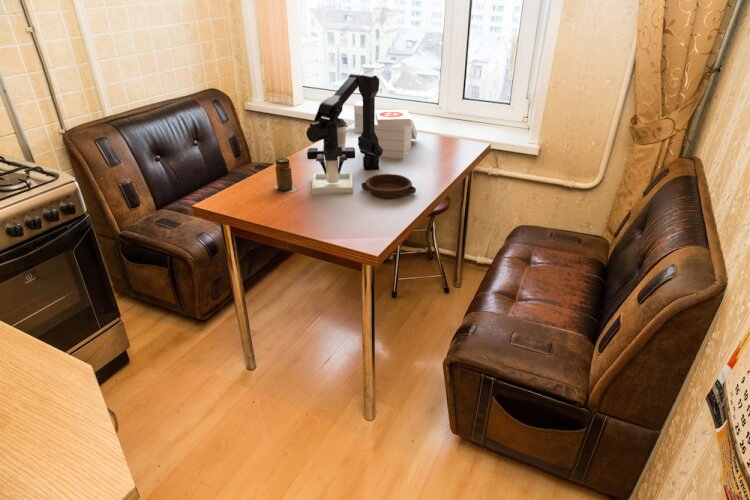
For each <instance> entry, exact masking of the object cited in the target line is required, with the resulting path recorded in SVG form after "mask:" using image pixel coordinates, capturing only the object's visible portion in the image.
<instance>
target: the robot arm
mask: <svg viewBox="0 0 750 500" xmlns="http://www.w3.org/2000/svg"><path fill="white" fill-rule="evenodd" d="M357 88H358V92H359V94H360V95H361V97H362V101H363V133H360V134H361V135H359V136H358V137H357V140H358V141H357V146H358V149H359V151H360V154H363V156H362V167H363V168H364V170H367V171H368V170H370V171H373V170H374V171H377V170H380V165H379V164H380V159H379V158H380V157H381V155H382V153H383V149H382V148H381V147H380V146H379V143H378V137H377V136H376V134H375V131H374V127H375V123H376V121H375V120H376V110H375V109H376V108H375V104H376V103H375V102H376V101H375V99H376V96H377V94H378V92H379V90H380V89H379V88H380V78H379V77H378V76H377V75H375V74H374V75H373V74H367V73H362V74H360V73H354V72H352V73H350V74H349V75H348V77H347V79H346V80H345V81H344V82H343V84H342V85H341V86H340V87H339V88H338V89H337V91H336V92H335V93H334V94H333V95H332V96H330V97H327V98H326V99H324V100H323V101H321V103H320V104H319V106H318V108H317V109H318V110H317V111H316V114H315V117H314V120H313V121H314V122H311V123H310V124H309V127H308V128H307V129H306V132H305V133H306V137H307V139H308V140H309V141H310V142H311V143H316V142H319V141H323V147H322V149H323V150H318V147H309V148H308V149H307V153H306V156H307V160H315V161H316V162H319V164H320V166H321V167H322V170H323V173H325V174H326V162H325V160H326V161H329V160H337V157H338V173H339V174H340V173H341V171H342V166H343V164H344V162H345V161H348V159H349V160H351V159H356V148H355V147H353V146H352V147H350V146H349V147H346V146H345V150H342V147H338V125H337V123H339V122H341V120H340V119H341V118H339V117H340V115H341V113H342V111H343V107H344V105H345V103H346V102H347V101H348V100H349V98H351V96H352V94H353V93H354V92H356V90H357Z"/></svg>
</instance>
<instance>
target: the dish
mask: <svg viewBox="0 0 750 500" xmlns="http://www.w3.org/2000/svg"><path fill="white" fill-rule="evenodd" d="M412 185H413V183H412V181H411V180H410V179H409V178H408V177H406V176H403V175H400V174H396V173H395V174H394V173H382V174H374V175H372V176H369V177H368V178H367V179H366V180H365V181H364V182H362V183H361V188H362V190H365V191H367V192H369V193H370V195H372V196H373V197H375V198H378V199H384V200H393V199H398V198H401V197H403V196H406V195H409V194H410V195H411V194H415V193H416V191H417V188H416V187H414V186H412Z"/></svg>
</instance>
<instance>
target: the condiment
mask: <svg viewBox="0 0 750 500" xmlns="http://www.w3.org/2000/svg"><path fill="white" fill-rule="evenodd" d="M290 164H291V163H290V159H289V158H287V157H280V158H277V159H276V160H275V176H276V184H277V185H275V186H273V188H274V189H275V190H276V191H277V193H278V194H279V195H281V194H289V193H293V192H298V189H297V188H295V187H294V185H293V176H292V167H291V165H290Z"/></svg>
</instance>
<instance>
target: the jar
mask: <svg viewBox="0 0 750 500" xmlns="http://www.w3.org/2000/svg"><path fill="white" fill-rule="evenodd" d="M324 160H325V159H324ZM325 166H326V180H327V182H328V183H337V182H338V181H339V173H338V168H339V157H337V160H329V161H326V160H325Z"/></svg>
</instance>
